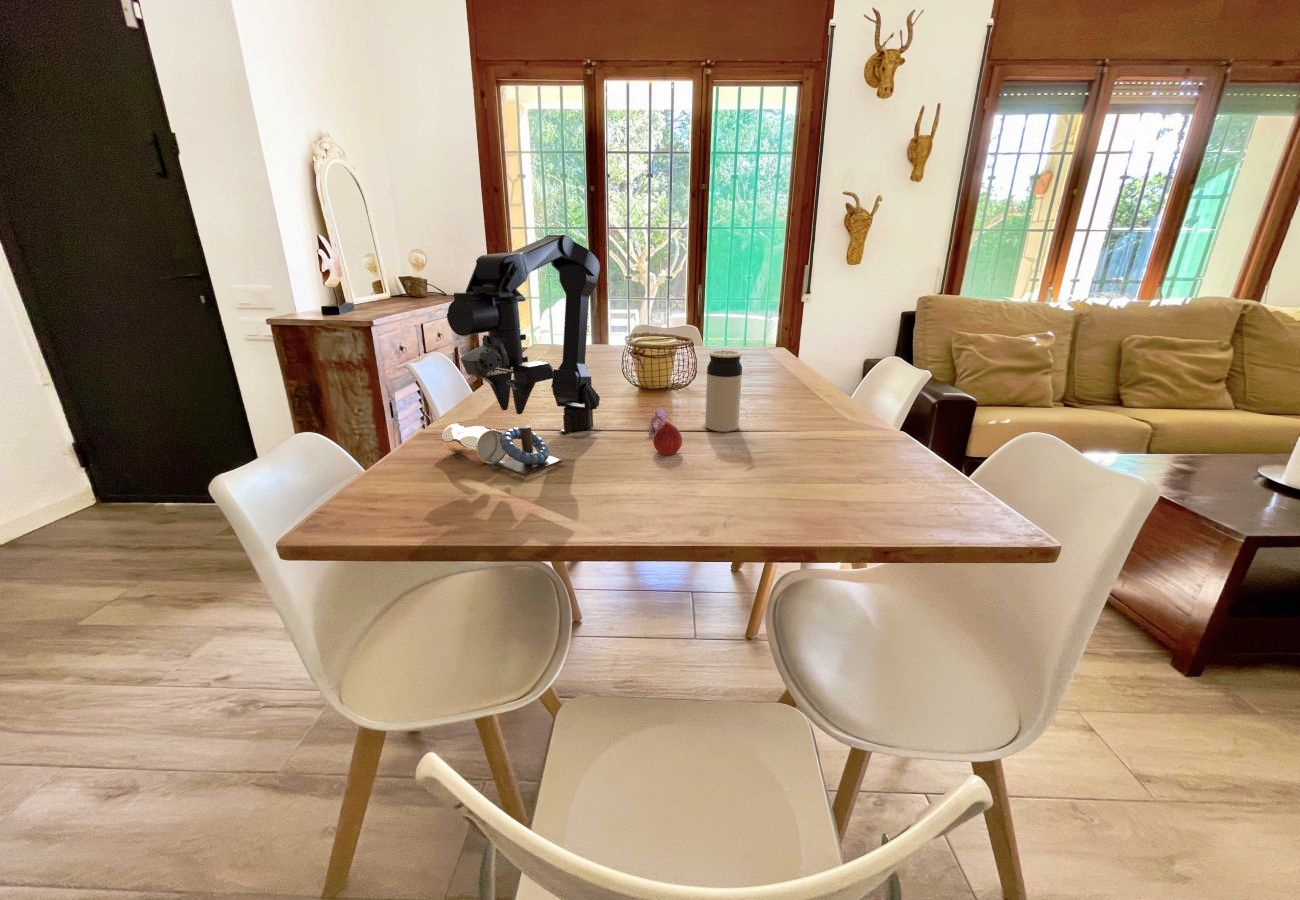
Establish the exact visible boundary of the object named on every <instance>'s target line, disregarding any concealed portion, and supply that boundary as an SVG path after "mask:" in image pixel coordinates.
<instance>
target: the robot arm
mask: <svg viewBox="0 0 1300 900" xmlns="http://www.w3.org/2000/svg"><path fill="white" fill-rule="evenodd" d="M475 263H476V264H475V267H474V269H473V271H472V275H471V277H470V279H469V282H468V284H467V286H466V289H465V292H453V301H452V302H451V303H449V306H448V309H447V313H446V319H447V323H448V325H449V328H450V329H451V330H452V332H454V333H455V334H456V335H458V336H460V337H466V336H471V335H477V334H483V333H487V334H483V335H482V338H481V339H482V345H480V346H478V347H475V348H473V349H472V350H470V351H468V352H467V353H465V354H464V355H461V357H460V358H459V359H460V361H461V364H462V366H463V368H464V370H465V372H466V374H467V375H468V376H471V375H472V376H475V377H477V378H480V379H482V380H483V381H485V382H486V383H488V384H489V386H490V388H491V390H492V391H493V394H494V396H495V398H496V400H497V402H498V405H499V407H500V409H501V411H503V412H505V411H507V410H508V409H509V405H510V404H509V403H510V397H511V396H510V395H511V392H512V399H513V403H514V410H515V412H516V415H522V414H523V413H524V411H525V409H526V405H527V403H528V401H529V398H530V395H531V393H532V391H533V389H534V387H535V386H536V383H540V382H544V381H548V380H551V386H550V388H552V395H553V397H554V400H555V403H556V406H557V407H561V408H563V415H562V417H563V419H562V420H563V428H561V429H560V433H563V434H564V435H565V434H566V435H568V434H573V433H577V432H585V431H590V430H591V429H592V427H594V411H593V410H597V409H598V407H599V406H600V400H601V397H600V395H599V394H598V392H597V391H596V390H595V388H594V387H593V386H592V375H591V373H590V371H589V369H588V367H587V365H586V350H587V337H588V335H587V334H588V318H589V302H590V296H591V295H592V293H593V292H594V290H595V289H596V287H597V286H598V282H599V275H600V271H601V265H600V261H599V259H598V258H597V257H596V256H595V254H594V253H592V251H590V250H589V248H587V247H585V246H583V245H581V244H579V243H577V242H576V241H574V239H572V237H571V236H569V235H567V234H565V233H559V234H557V233H555V234H554V233H553V234H552V233H551V234H547V235H545V236H544V237H543V238H541V239H538V240H536V241H533V242H531V243H529V244H526V245H524V246H522V247H519V248H518V249H517V248H516V249H515V250H513V251H509V252H498V253H490V254H482V255H480V256H478V257H477V258H476V260H475ZM550 263H551V264H550ZM547 264H550V265H551V266H552V267H553V268H554V269H555V270H556V271H557V272H558V279H559V283H560V285H561V287H562V290H563V292H564V293H565V304H564V306H565V307H564V308H565V309H564V322H563V323H564V325H563V327H564V328H563V345H562V347H563V348H562V362H561V363H560V365H559V366H558V368H556V369H555V368H553V366H552V365H551V364H550V363H549V362H544V361H538V360H535V361H529V357H528V355H523V344H522V341H526V340H527V334H526V333H521V322H520V320H521V319H520V311H519V310H520V309H519V308H520V307H519V303H521V302H526V299H527V297H526V296H524V294H523V293H521V292H519V290H518V288H519V287H520V286H522V285H523V284H524V283H525V282H526V281H527V280H528V277H529V274H531V272H534V271H536V270H538V269H540V268H542V267H543V266H546V265H547Z"/></svg>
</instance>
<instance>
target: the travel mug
mask: <svg viewBox="0 0 1300 900" xmlns="http://www.w3.org/2000/svg"><path fill="white" fill-rule="evenodd" d="M708 355H709V358H710V361H709V362H708V364H707V367H706V390H705V391H706V392H705V394H706V395H705V419H704V421H705V422H704V427H705V428H707V429H708V430H710V431H713V432H718V433H728V432H733V431H736V430H737V429H739V425H740V410H741V395H742V375H743V374H742V373H743V366H742V364H741V361H740V360H741V356H743V353H742V352H741V351H738V350H734V349H733V350H732V349H715V350H711V351H708Z"/></svg>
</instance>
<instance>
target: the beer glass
mask: <svg viewBox="0 0 1300 900" xmlns="http://www.w3.org/2000/svg"><path fill="white" fill-rule="evenodd" d="M502 433H503V432H501V431H500V430H497V429H494V428H491V427H488V426H481V425H473V426H465V425H463V424H461V423H452V424H449V425H448V426H447V427H446V428H445V429H444V430H443V432H442V434H441V444H442V445H443V447H444V448H445V450H447V451H448V452H450V453H453V454H457V453H458V454H459V453H460V454H462V456H464V457H465V458H467V459H469V460H471V461H474V462H477V463H482V464H488V465H493V464H494V465H495V463H497V462H500V461H502V460H504V458H505V456H506V454H507V453H506V452H505V451H504V450H503V448H502V446H501V443H500V438H501V434H502Z"/></svg>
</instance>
